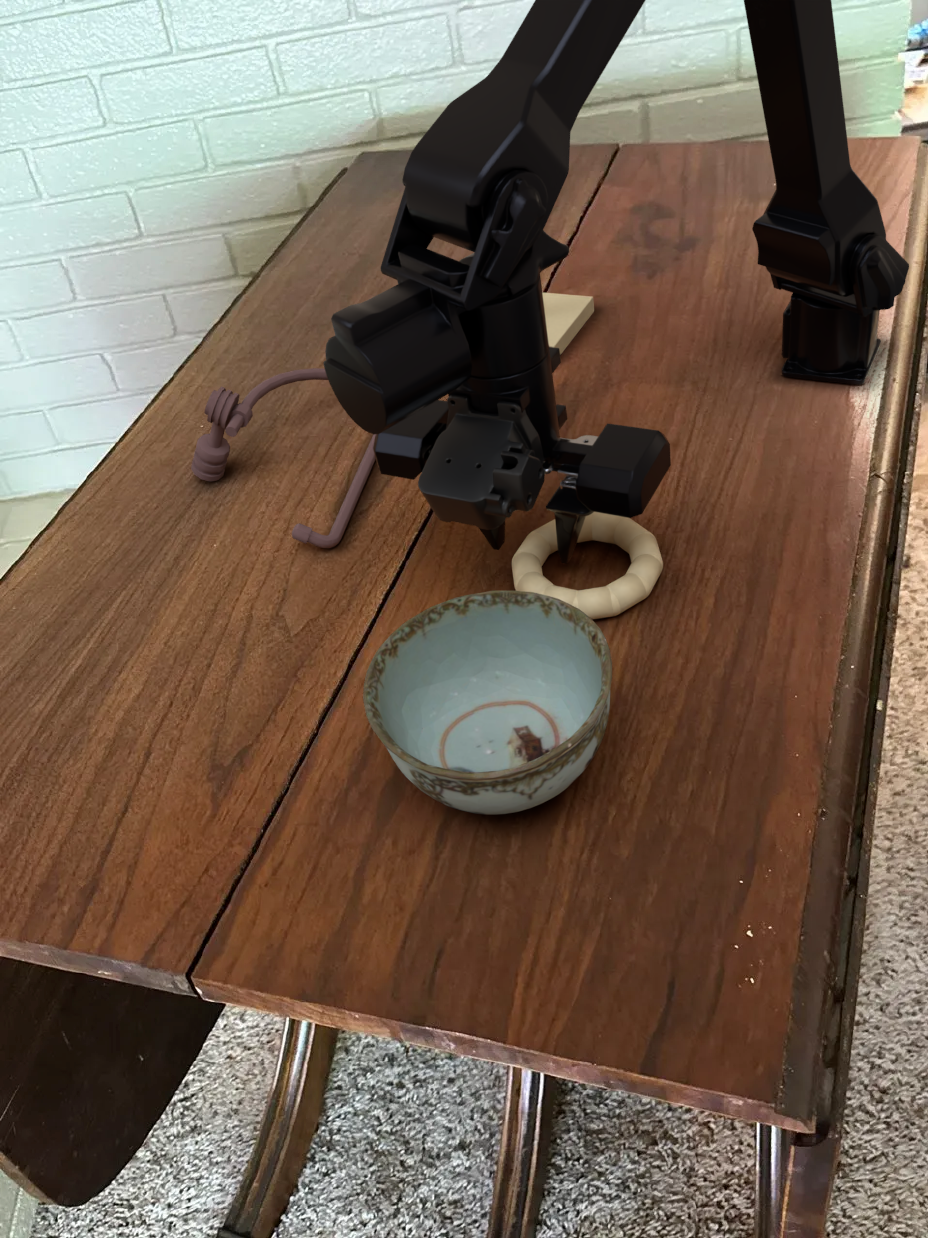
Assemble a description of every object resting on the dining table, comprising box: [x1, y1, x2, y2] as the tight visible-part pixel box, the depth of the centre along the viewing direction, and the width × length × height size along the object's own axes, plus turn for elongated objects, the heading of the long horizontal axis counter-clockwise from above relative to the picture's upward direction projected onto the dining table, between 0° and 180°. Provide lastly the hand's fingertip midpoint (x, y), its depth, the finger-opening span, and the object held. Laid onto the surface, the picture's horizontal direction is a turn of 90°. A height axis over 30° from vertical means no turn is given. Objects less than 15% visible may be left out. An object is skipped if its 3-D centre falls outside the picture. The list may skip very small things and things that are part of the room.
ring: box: [511, 512, 664, 620], centre depth 73 cm, size 10×10×2 cm
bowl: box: [362, 590, 613, 815], centre depth 60 cm, size 14×13×8 cm
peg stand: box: [542, 291, 595, 356], centre depth 97 cm, size 9×9×6 cm
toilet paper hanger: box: [190, 367, 377, 549], centre depth 88 cm, size 22×8×14 cm
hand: (532, 553), depth 75 cm, fingers open, 5 cm apart
